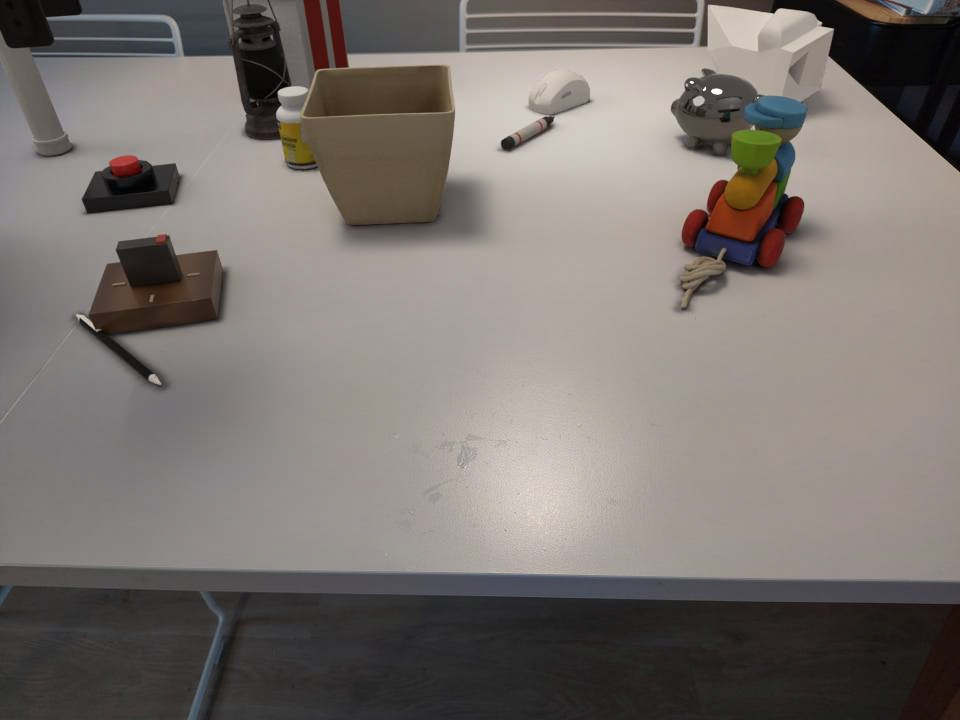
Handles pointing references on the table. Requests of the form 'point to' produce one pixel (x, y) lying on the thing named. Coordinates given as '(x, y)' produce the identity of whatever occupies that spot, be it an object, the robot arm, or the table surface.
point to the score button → (125, 165)
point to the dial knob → (149, 260)
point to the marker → (526, 132)
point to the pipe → (33, 100)
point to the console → (159, 297)
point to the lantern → (259, 68)
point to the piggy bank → (714, 108)
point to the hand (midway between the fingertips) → (48, 29)
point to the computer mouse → (559, 92)
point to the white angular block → (770, 49)
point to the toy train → (749, 196)
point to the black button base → (131, 188)
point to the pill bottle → (294, 128)
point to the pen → (119, 350)
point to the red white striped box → (304, 35)
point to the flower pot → (382, 139)
